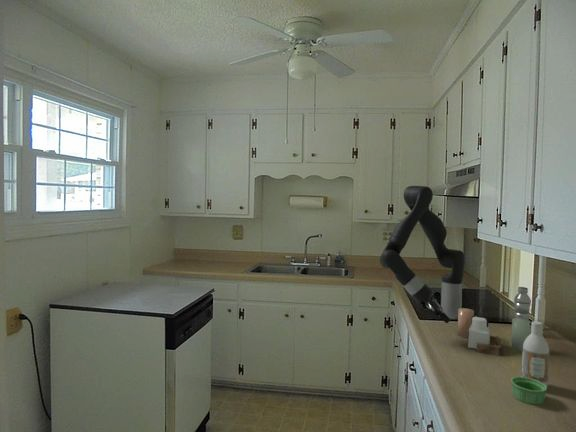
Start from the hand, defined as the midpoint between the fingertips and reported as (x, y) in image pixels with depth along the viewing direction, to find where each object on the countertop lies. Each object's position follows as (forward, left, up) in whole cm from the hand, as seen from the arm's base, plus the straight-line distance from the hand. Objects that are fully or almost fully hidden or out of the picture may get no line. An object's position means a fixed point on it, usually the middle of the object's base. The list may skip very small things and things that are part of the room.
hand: (448, 321), depth 159 cm
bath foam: (+13, +36, -9) cm, 40 cm away
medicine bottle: (-5, +10, -9) cm, 14 cm away
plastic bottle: (-36, +13, -9) cm, 39 cm away
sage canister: (-17, +20, -8) cm, 28 cm away
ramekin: (+23, +38, -9) cm, 45 cm away
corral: (-7, +13, -8) cm, 17 cm away
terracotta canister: (-13, 0, -8) cm, 16 cm away
